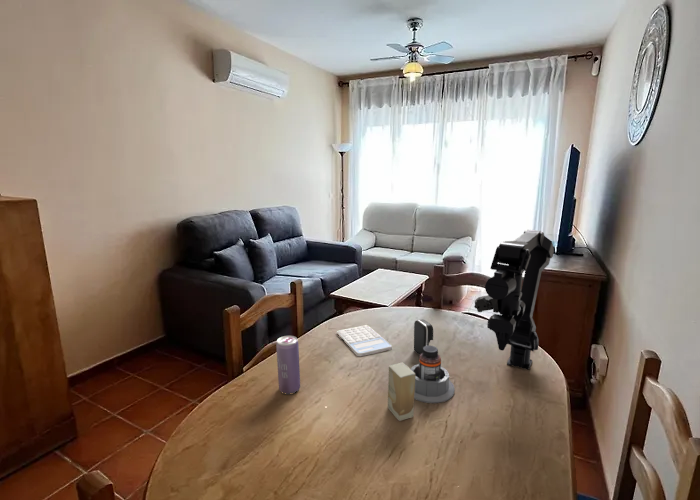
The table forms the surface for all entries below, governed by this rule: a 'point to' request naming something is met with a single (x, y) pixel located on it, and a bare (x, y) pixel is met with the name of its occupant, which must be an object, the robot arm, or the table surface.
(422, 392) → the grey round holder
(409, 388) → the skincare box
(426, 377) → the supplement bottle
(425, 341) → the battery charger
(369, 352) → the calculator
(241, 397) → the table surface
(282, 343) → the beverage can
